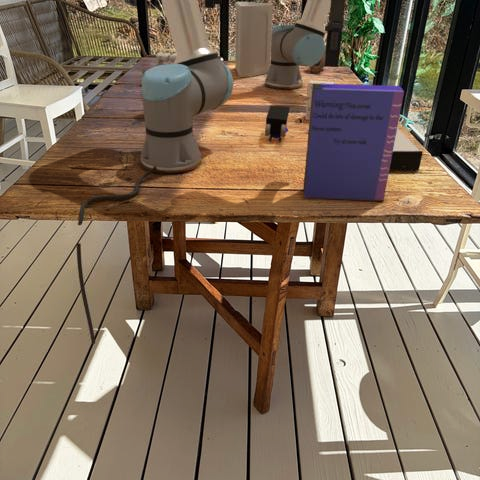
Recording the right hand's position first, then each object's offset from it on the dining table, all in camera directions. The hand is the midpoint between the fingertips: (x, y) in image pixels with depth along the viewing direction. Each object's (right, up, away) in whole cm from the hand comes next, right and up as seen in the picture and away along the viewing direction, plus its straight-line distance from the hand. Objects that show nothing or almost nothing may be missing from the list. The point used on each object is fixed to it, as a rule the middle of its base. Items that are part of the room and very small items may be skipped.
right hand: (213, 6), depth 159 cm
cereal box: (+32, -68, -51) cm, 91 cm away
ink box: (+35, -38, -1) cm, 51 cm away
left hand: (+28, -40, -57) cm, 75 cm away
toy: (-15, +3, +66) cm, 68 cm away
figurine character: (+20, -47, -17) cm, 54 cm away
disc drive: (+45, -55, -29) cm, 77 cm away
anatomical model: (+44, +1, +63) cm, 77 cm away
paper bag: (+15, -1, +59) cm, 61 cm away
